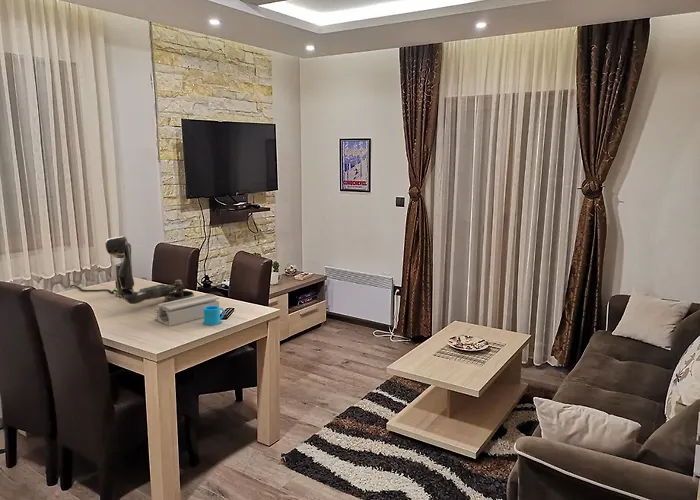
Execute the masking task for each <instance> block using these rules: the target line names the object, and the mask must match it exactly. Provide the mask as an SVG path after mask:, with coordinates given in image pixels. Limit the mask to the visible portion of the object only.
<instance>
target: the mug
mask: <svg viewBox="0 0 700 500" xmlns="http://www.w3.org/2000/svg"><path fill="white" fill-rule="evenodd" d="M221 311H222V314H221ZM225 313H226V312H225V309H224V308H222V307H220V305H219V306H207V307H204V317H203V324H204V325H206V326H215V325H219V324H220V323H221V320H222V319H223V318H224V316H225Z"/></svg>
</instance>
